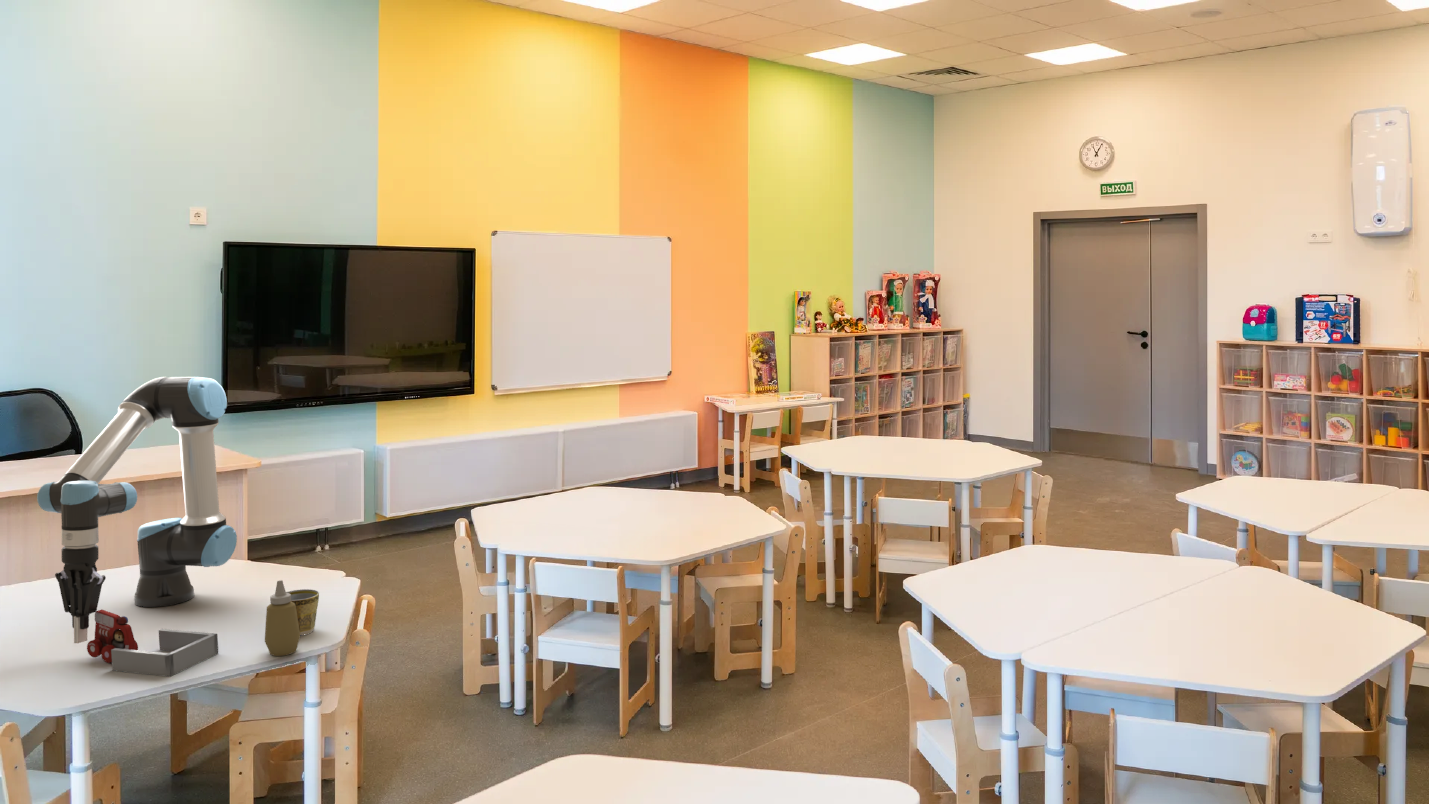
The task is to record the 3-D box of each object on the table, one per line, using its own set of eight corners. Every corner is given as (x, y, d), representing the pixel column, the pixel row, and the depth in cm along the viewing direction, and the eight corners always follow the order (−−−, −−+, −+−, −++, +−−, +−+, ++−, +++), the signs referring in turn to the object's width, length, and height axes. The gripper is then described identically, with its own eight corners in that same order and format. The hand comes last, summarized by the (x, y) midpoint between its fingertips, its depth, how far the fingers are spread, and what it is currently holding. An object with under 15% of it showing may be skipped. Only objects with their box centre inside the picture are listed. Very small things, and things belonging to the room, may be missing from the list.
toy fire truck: (117, 667, 235) (118, 625, 234) (81, 653, 240) (83, 612, 239) (144, 657, 242) (145, 616, 240) (108, 645, 246) (110, 604, 245)
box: (112, 670, 232) (111, 649, 232) (163, 648, 247) (162, 628, 247) (170, 676, 229) (169, 655, 228) (218, 653, 244) (217, 633, 243)
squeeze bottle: (288, 644, 250) (285, 574, 248) (307, 651, 245) (304, 579, 243) (258, 654, 243) (254, 582, 241) (277, 660, 239) (273, 587, 237)
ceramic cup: (327, 632, 259) (325, 594, 258) (288, 641, 252) (286, 602, 251) (306, 620, 268) (304, 584, 267) (268, 629, 261) (266, 592, 260)
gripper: (45, 546, 238) (45, 643, 239) (87, 550, 234) (88, 649, 236) (72, 540, 245) (73, 634, 246) (114, 544, 242) (114, 640, 243)
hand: (80, 641), depth 241 cm, fingers closed
